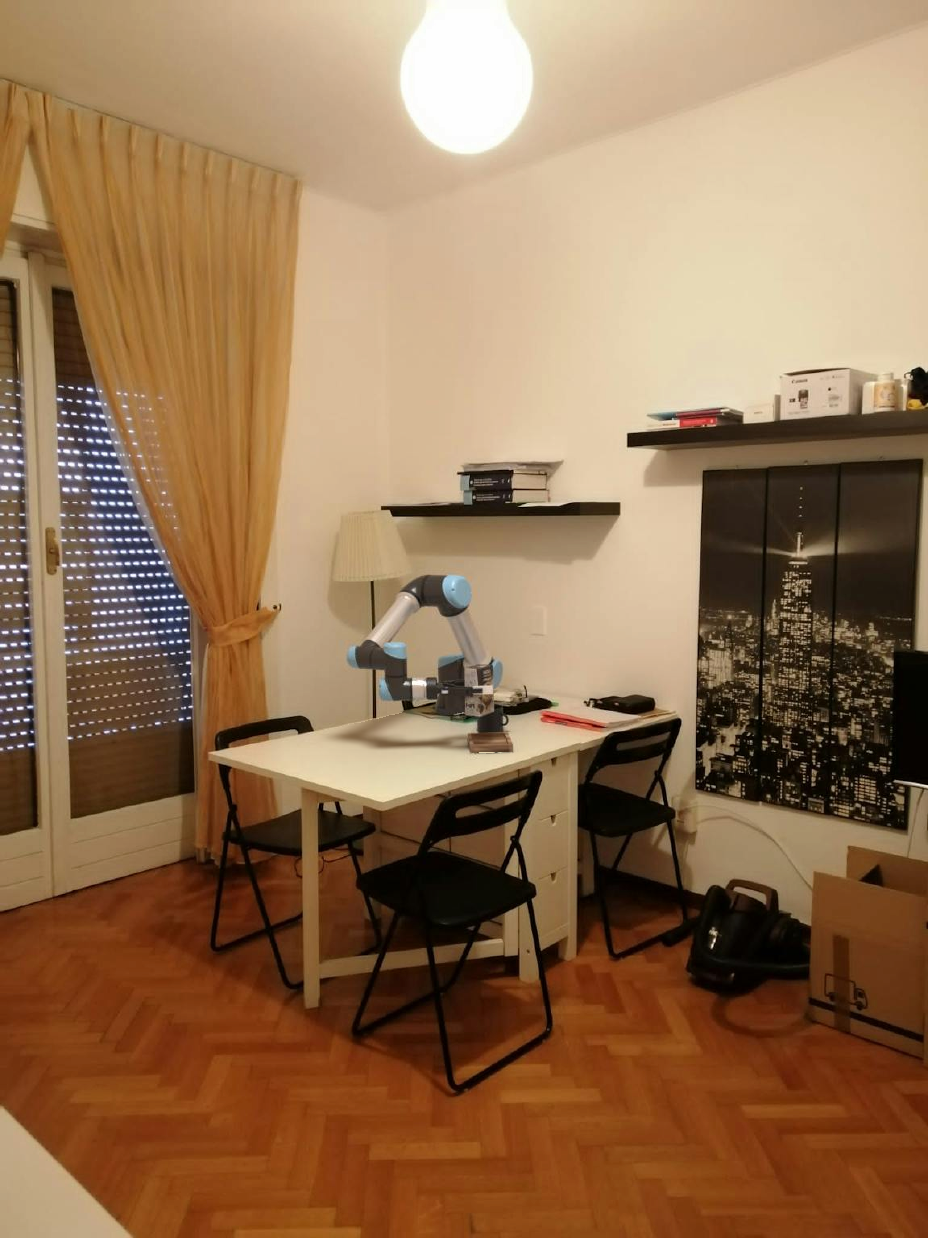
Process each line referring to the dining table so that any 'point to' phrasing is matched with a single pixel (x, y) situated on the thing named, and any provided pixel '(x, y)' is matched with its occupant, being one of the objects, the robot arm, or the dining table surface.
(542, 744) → the dining table surface
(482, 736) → the tray
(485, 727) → the mug
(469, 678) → the coffee box
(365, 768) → the dining table surface
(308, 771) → the dining table surface
